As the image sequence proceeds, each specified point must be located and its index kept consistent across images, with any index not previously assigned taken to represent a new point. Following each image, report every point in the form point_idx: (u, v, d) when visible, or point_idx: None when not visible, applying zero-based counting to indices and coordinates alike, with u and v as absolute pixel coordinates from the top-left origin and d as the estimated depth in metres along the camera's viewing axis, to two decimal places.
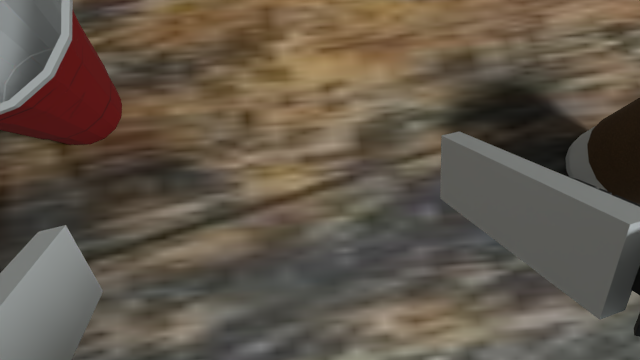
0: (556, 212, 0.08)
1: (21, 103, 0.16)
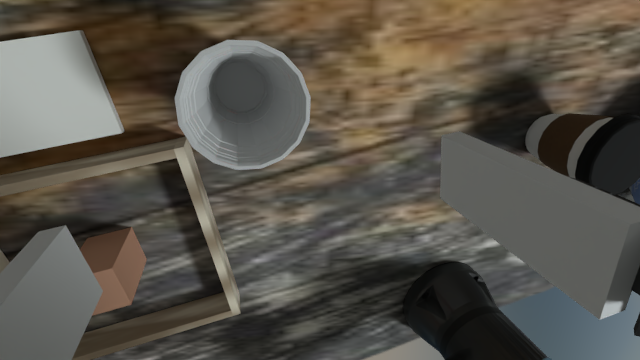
0: (556, 212, 0.08)
1: None
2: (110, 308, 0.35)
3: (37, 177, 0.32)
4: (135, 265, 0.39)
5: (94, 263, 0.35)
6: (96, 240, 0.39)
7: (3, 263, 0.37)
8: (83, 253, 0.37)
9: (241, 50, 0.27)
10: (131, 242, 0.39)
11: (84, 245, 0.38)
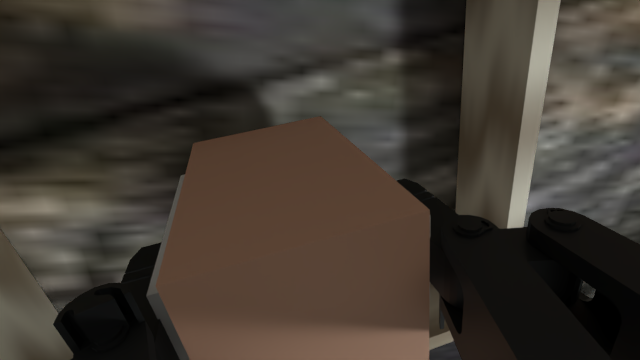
0: None
1: None
2: None
3: None
4: None
5: (296, 197, 0.08)
6: (231, 144, 0.12)
7: None
8: (212, 172, 0.10)
9: None
10: None
11: (197, 156, 0.11)
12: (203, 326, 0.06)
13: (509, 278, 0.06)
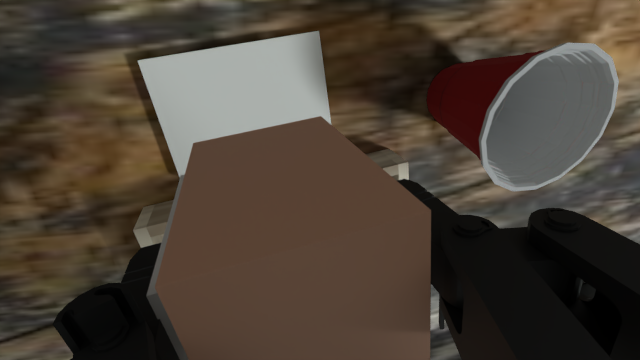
0: None
1: None
2: None
3: None
4: None
5: (296, 197, 0.07)
6: (231, 143, 0.12)
7: None
8: (212, 172, 0.10)
9: None
10: None
11: (197, 156, 0.11)
12: (203, 327, 0.06)
13: (509, 278, 0.06)
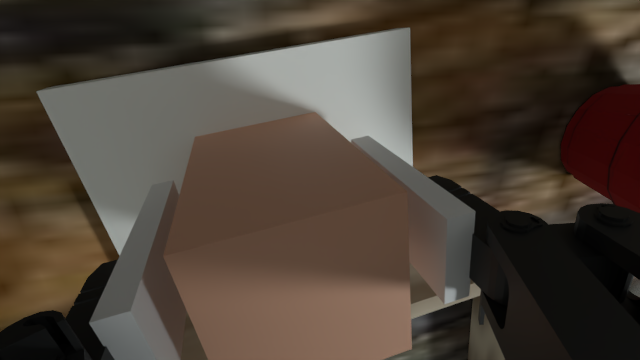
0: (413, 209, 0.09)
1: None
2: None
3: None
4: None
5: (289, 182, 0.08)
6: (231, 137, 0.13)
7: None
8: (212, 162, 0.10)
9: None
10: None
11: (199, 148, 0.12)
12: (205, 294, 0.07)
13: (560, 274, 0.06)
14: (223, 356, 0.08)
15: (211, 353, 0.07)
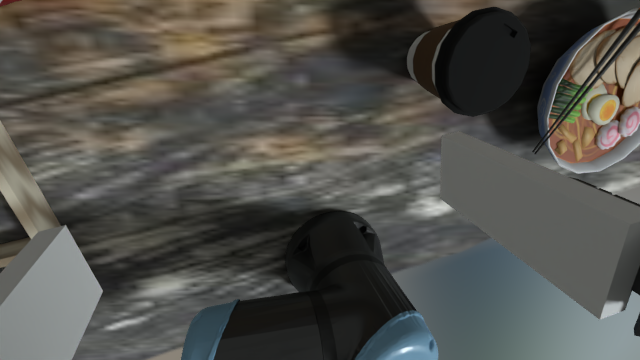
0: (556, 212, 0.08)
1: None
2: None
3: None
4: None
5: None
6: None
7: None
8: None
9: None
10: None
11: None
12: None
13: None
14: None
15: None
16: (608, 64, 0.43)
